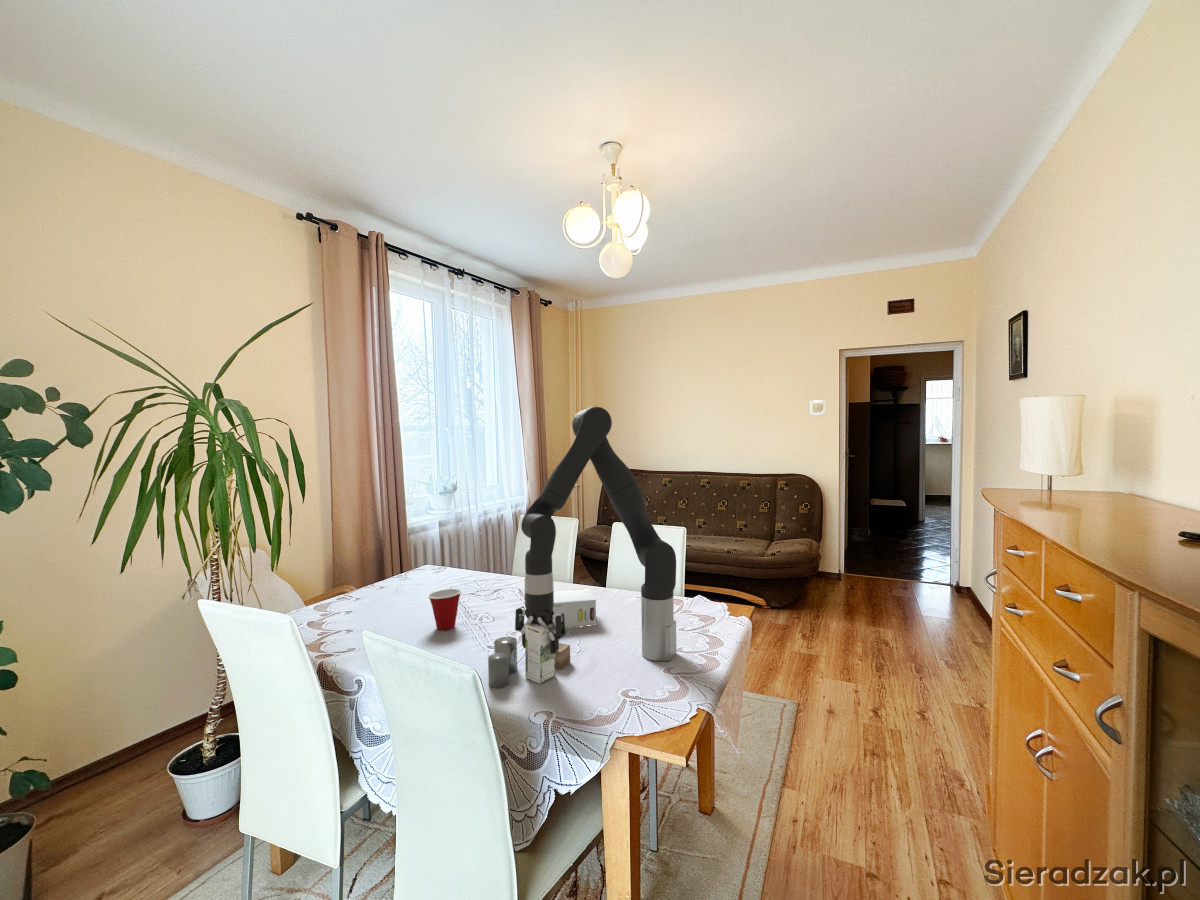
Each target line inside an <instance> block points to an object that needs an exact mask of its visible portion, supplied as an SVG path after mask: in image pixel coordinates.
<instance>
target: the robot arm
mask: <svg viewBox="0 0 1200 900" xmlns="http://www.w3.org/2000/svg"><path fill="white" fill-rule="evenodd" d="M612 423H613V421H612V417H611V415H610V413H609V412H608V410H607V409H605V408H604V407H601V406H591V407H587V408H585V409H583V410H580V411H578V412H577V413H575V415H574V416H573V419H572V422H571V425H572V426H571V427H572V431H573V434H574V436H575V438H574V440H573V443H572V444H571V446H570V447H569V449H568V450H567V453H565V455H564V457H563V458H562V459H561V460H560V462H559V463H558V464H557V465H556V467H555V468H554V469H553V471H552V472H551V474H550V476H549V477H548V479H547V481H546V483H545V485H544V487H543V489H542V491H541V492H540V495H539V496H538V497H537V498H536V499H535V500H534V502H533V503H532V504H531V505H530V507H529V508H528V509H527V511H526V513H524V515H523V518H522V521H521V524H520V525H521V531H522V533H523V534H524V536H525V537H527V538H529V539H530V544H529V550H527V551H526V553H525V559H524V562H525V563H524V564H525V565H524V567H525V568H524V569H525V570H524V571H525V572H524V574H525V575H524V576H525V577H524V606H523V605H522V606H520V607H517V608H516V609H515V616H514V617H515V620H514V621H515V623H514V630H515V632H520V634H521V644H522V647H523V649H525V625H526V624H538V625H542V627H544V628H545V632H546V633H547V634H548V635H549V637H550V638H551V640H550V647H551V654H555V653H556V652H557V651H558V649H559V643H560V640H561V639H562V638H563V637H565V636H566V629H565V619H564V614H563V613H561V614H554V612H553V606H554V591H555V590H554V574H553V552H554V548H555V543H556V538H557V537H556V536H557V528H556V524H555V520H554V519H553V518H552V517H553V516H554V514H555V513H556V512H557V511H559V510H562V509H563V508H564V506H565V505H566V503H567V500H568V499H569V497H570V495H571V493H572V491H573V489H574V488H575V486H576V485H577V482H578V480H579V478H580V476H581V475H582V472H583V471H584V469H585V468H586V466H587V464H588V462H589V461H590V462H591V463H592V465H593V468H594V470H595V472H596V474H597V476H598V478H599V480H600V482H601V484H602V486H603V489H604V491H605V493H606V494H607V497H608V499H609V501H610V503H611V505H612V507H613V508H614V510H615V512H616V513H617V515H618V518H619V519H620V521H621V522H622V524H623V525H624V527H625V529H626V531H627V533H628V535H629V537H630V539H631V543H632V545H633V547H634V550H635V553H636V556H637V559H638V560H639V562H640V564H641V566H643V567H644V583H642V585H641V587H640V589H641V590H640V594H641V599H640V600H641V603H640V605H641V608H640V609H641V610H640V611H641V655H642V657H643V658H645V659H646V660H650V661H653V662H664V661H665V662H666V661H667V662H671V661H672V659H673V658H674V657H675V656H676V655H677V620H674V619H675V618H674V616H675V614H674V613H675V612H674V611H675V610H674V607H675V606H674V590H675V589H676V584H677V556H676V552H675V549H674V548H673V547H672V545H670V544H669V543H667V542H666V541H664V540H662V539H661V537H660V536H659V535H658V533H657V531H656V530H655V528H654V526H653V524H652V523H651V522H652V521H651V519H650V518H649V514H648V509H647V504H646V499H645V496H644V494H643V491H642V489H641V487H640V485H639V483H638V481H637V479H636V477H635V476H634V474H633V472H632V470H631V469H630V468H629V467H628V466H627V465H626V464H625V463H624V461H623V460H622V459H621V458H620V457H619V456H618V455H617V454H616V452H615V451H614V450H613V448H612V446H611V443H610V442H609V439H608V437H607V436H608V435H609V433H610V431H611V429H612ZM525 617H526V618H527V620H526V621H525ZM553 619H554V620H555V621H554V622H555V623H556V625H555V624H554V622H553ZM550 624H552V625H553V626H552V627H551V628H549V627H548V625H550Z"/></svg>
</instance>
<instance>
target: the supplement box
mask: <svg viewBox="0 0 1200 900" xmlns="http://www.w3.org/2000/svg"><path fill="white" fill-rule="evenodd" d="M553 612H554V614H561V613H563V614H564V619H565V628H569V629H573V628H572V627H580V626H587V625H595V624H596V625H597V599H596V597H595V596H594V595H593V593H592V591H591V590H590V589H589V588H583V589H582V588H579V589H567V590H554V606H553ZM554 621H555V620H554V619H553V622H554ZM554 623H555V622H554ZM555 625H556V623H555ZM580 628H581V627H580Z"/></svg>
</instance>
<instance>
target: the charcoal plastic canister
mask: <svg viewBox="0 0 1200 900" xmlns="http://www.w3.org/2000/svg"><path fill="white" fill-rule="evenodd" d="M487 669H488V671H487V673H488V674H487V675H488V676H487V677H488V687H489V686H490V687H491V689H493V688H495V689H496V690H497V689H498V688H499V689H503V688H505V686H506V687H508V685H509V675H508V655H507V654H505V653H492V654H490V655H488V657H487ZM490 687H489V688H490ZM495 689H494V690H495Z"/></svg>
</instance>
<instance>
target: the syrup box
mask: <svg viewBox="0 0 1200 900" xmlns="http://www.w3.org/2000/svg"><path fill="white" fill-rule="evenodd" d="M554 624H555V623H554ZM552 626H553V625H552V624H550V625H548V627H549V628H551V627H552ZM550 640H551V638H550V637H549V635H548V634H547V633H546V632H545V628H544V627H542V625H538V624H526V625H525V648H524V649H525V650H524V651H525V678H526V679H528V680H530V681H532V682H534V683H537V684H539V685H541V684H543V683H544V682H545V683H546V682H547V681H549V680H550V679H551V680H552V678H554V677H556V670H557V669H555V654H551V647H550Z"/></svg>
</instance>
